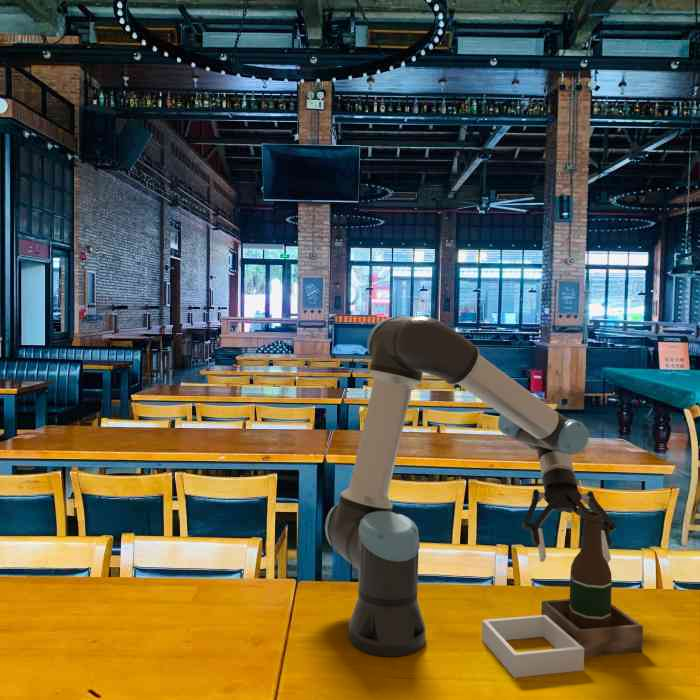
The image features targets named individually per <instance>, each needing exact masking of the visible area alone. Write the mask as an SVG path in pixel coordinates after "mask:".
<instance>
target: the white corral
mask: <svg viewBox="0 0 700 700" xmlns="http://www.w3.org/2000/svg"><path fill="white" fill-rule="evenodd" d="M481 622H482V623H481V641H482V642H483V643H484V645H485V646H486V647H487V648H488V649H489V651H491V653H492V654H493V655H494V656H495V657H496V659H497V660H499V662H500V663H501V664H502V666H503V667H504V668H505V669H506V670H507V671H508V673H509V674H510V675H511V676H512V678H514V679H515V678H524V677H533V676H534V677H535V676H543V675H552V674H561V673H571V672H572V673H573V672H583V671H584V669H585V667H584V666H585V658H584V648H583V647H582V646H581V645H580V644H579V643H577V642H576V641H575V640H574V639H573V638H572V637H570V636H569V635H568V634H567V633H566V632H565V631H564V630H562V629H561V628H560V627H559V626H558V625H557V624H555V623H554V622H553V621H552V620H551V619H550V618H549V617H547V616H546V615H541V614H536V615H527V616H525V615H524V616H516V617H501V618H490V619H482V620H481ZM540 637H541V638H542V637H543V638H544V639H545V640H547V642H549V644H550V645H552V647H553V648H551V649H540V650H528V651H519V652H517V651H516V650H515V649H514V648H513V647H512V645H510V643H508V642H507V641H509V640H510V641H511V640H523V639H530V638H532V639H533V638H540Z"/></svg>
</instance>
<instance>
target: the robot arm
mask: <svg viewBox="0 0 700 700" xmlns="http://www.w3.org/2000/svg"><path fill="white" fill-rule="evenodd" d="M366 343H367V344H366V348H367V353H368V354H369V357H370V359H371V361H370V365H369V369H368V372H369V374H370V376H371V377H372V380H373V382H372V387H371V392H370V395H369V400H368V405H367V409H366V414H365V418H364V422H363V426H362V430H361V435H360V439H359V443H358V449H357V452H356V457H355V461H354V466H353V470H352V474H351V478H350V482H349V486H348V487H347V488H346V489H344V490H343V491H341V492H340V495H339V499H338V502H337V503H336V505H334V506H332V507H331V509H330V510H329V511H328V513H327V516H326V519H325V524H324V531H325V536H326V539H327V542H328V544H329V545H330V546H331V548H332V549H333V550H334V552H335V553H336V554H337V555H339V557H341V558H344V559H345V560H346V561H347V562H348V563H349V564H350V565H352V566H354V567H355V568H356V569H357V571H358V584H357V585H358V592H357V593H358V595H357V599H356V602H355V606H354V608H353V611H352V614H351V617H350V620H349V623H348V640H349V642H350V644H352V646H353V647H355V648H356V649H358V650H360V651H362V652H365V653H367V654H371V655H374V656H379V657H400V656H406V655H410V654H413V653H416V652H417V651H419V650H420V649H421V648H423V646H425V643H426V633H427V632H426V630H427V629H426V626H425V622H424V618H423V615H422V611H421V609H420V604H419V601H418V584H419V583H418V582H419V580H418V579H419V552H420V551H419V550H420V537H419V528H418V527H417V524H416V523H415V522H414V521H413V520H412V519H411V518H409V517H408V516H406V515H403V514H401V513H395V512H393V506H394V505H393V503H392V502H391V500H390V498H389V492H390V488H391V483H392V478H393V474H394V470H395V466H396V461H397V456H398V451H399V448H400V444H401V443H400V442H401V439H402V434H403V429H404V425H405V421H406V417H407V412H408V407H409V403H410V398H411V396H412V395H411V394H412V390H413V389H414V388H415V387H417V386H418V385H420V384H421V381H422V377H423V373H424V374H427V375H432V376H434V377H436V378H439V379H441V380H442V381H444V382H446V383H447V384H449V385H451V386H456V385H458V386H459V387H462V388H463V389H464V390H466V391H467V392H468V393H470V394H472V395H473V396H474V397H475V398H477V399H479V400H480V401H482V402H483V403H485V404H486V405H488V406H489V407H490V408H492V409H493V410H494V411H496V412H498V413H499V418H498V419H497V428H498V430H499V431H500V433H502V434H503V435H505V436H506V437H507V438H509V439H513V440H515V441H517V442H519V443H520V444H523V445H525V446H527V447H528V448H531V449H532V450H534V451H536V453H537V457H538V462H539V467H540V473H541V477H542V484H543V489H544V492H541V491H539V490H538V489H533V491H532V495H531V502H530V503H531V504H530V506H529V509H528V510H527V513H526V515H525V518H524V521H523V523H522V527H521V528H522V530H524V531H529V533H530V535H531V539H532V540H531V541H532V544H533V546H537V550H538V554H539V561H540V562H543V563H544V562H545V560H546V557H547V553H546V546H545V540H544V534H543V528H541V526H542V525H543V524H544V522H545V521H546V519H547V518H548V517H549V516H550V515H551V514H552V512H553V511H556V512H557V513H563V512H565V513H572V512H573V513H575V515H577V516H579V517H580V518H581V519H583V520H584V518H583V514H584V513H586V512H596V513H599V514H601V516H602V519H603V521H601V536H602V552H603V556H604V558H605V560H606V561H607V563H608V564H610V563H609V562H610V561H611V559H612V557H611V553H610V550H609V549H610V548H611V546H612V541H611V537H610V534H613V533H614V531H615V530H616V528H617V524H616V523H615V522H614V521H613V519H612V518H611V517H610V516H609V515H608V513H607V512H606V511H605V509H604V508H603V507H602V506H601V505H600V503H599V502H598V500H596V497H595V494H594V492H593V491H591V490H589V491H588V492H587V493H581V492H580V491H579V487H578V483H577V482H578V481H577V479H576V475H575V469H574V465H573V461H572V457H571V455H578V454H580V453H582V452H583V451H584V450H585V449H586V447H587V445H588V443H589V431H588V428H587V427H586V425H585V424H584V423H582V422H580V421H578V420H575V419H572V418H570V419H569V418H567V417H565V416H564V415H562V414H561V413H560V412H558V411H556V409H554V408H552V407H551V406H550V405H548V404H547V403H546V402H544V401H543V400H541V399H540V398H539V397H537V396H536V395H535V394H533V393H532V392H531V391H529V390H528V389H527V388H525V387H524V386H522V385H521V384H520V383H518V382H517V381H516V380H514V379H513V378H511V376H509V375H508V374H506V373H504V372H503V371H502V370H501V369H499V368H498V367H497V366H495V365H494V364H492V362H490V361H489V360H487V359H486V358H485V357H484V356H482V355H480V349H479V348H478V346H477V345H475V344H474V343H473V342H471V340H468V339H467V338H466V337H464V336H463V335H462V334H460V333H459V332H457V331H456V330H455V329H453V328H452V327H450V326H449V325H447V324H445V323H443V322H442V321H440V320H438V319H436V318H434V317H430V316H425V315H423V316H422V315H421V316H420V315H419V316H399V315H398V316H393V317H392V316H391V317H389V318H385V319H382V320H381V321H379V322H378V323H377V324H375V326H374V327H373V328H372V329H371V331H370V333H369V335H368V338H367V342H366ZM542 500H544V501H545V502H546V503H547V505H546V507H545V508H544V509H543V510H542V511H541V513H540V514H539V515H538V517H536V519H535V520H534V522H532V521H531V520H532V518H533V515H534V513H535V511H536V507H537V505H538V503H539V502H541V501H542ZM581 500H582V501H581ZM583 501H584V503H583ZM586 504H587V506H588V508H589V509H588V508H587V507H586V506H585V505H586ZM590 510H591V511H590Z"/></svg>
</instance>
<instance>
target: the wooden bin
mask: <svg viewBox="0 0 700 700" xmlns="http://www.w3.org/2000/svg"><path fill="white" fill-rule="evenodd" d="M569 604H570V598H561V599H547V600H541V609H540V610H541V613H540V615H546V616H547V617H549V618H550V619H551V620H552V621H553V622H554V623H555V624H557V625H558V626H559V627H560V628H561V629H562V630H564V631H565V632H566V633H567V634H568V635H569V636H570V637H572V638H573V639H574V640H575V641H576V642H577V643H579V644H580V645H581V646H582V647H583V648H584V659H585V658H593V657H601V656H602V657H603V656H613V655H623V654H632V653H633V654H634V653H642V652H643V639H644V637H643V636H644V635H643V633H644V626H643V625H642V624H640V623H639V622H638V621H637V620H635V619H634V618H632V617H631V616H629V615H628V614H626V613H625V612H624V611H622V610H621V609H619V608H617V607H616V606H615V605H614V604H612V603H611V619H610V627H603V628H591V629H579V628H578V627H577V626H575V625H574V624H573V623H572V622H571V621H569Z"/></svg>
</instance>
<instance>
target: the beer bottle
mask: <svg viewBox="0 0 700 700" xmlns="http://www.w3.org/2000/svg"><path fill="white" fill-rule="evenodd" d="M583 518H584V519H583ZM583 518H582V519H583V527H582V528H583V529H582V536H581V537H582V538H581V546H580V550H579V551H578V553H577V555H576V556H574V558H573V561H572V563H571V565H570V575H569V577H570V578H569V599H570V604H569V621H571V622H572V623H573V624H574V625H575V626H577V627H578V628H579V629H591V628H603V627H610V619H611V604H612V585H613V584H612V583H613V580H612V571H611V568H610V565H609V563H607V561H606V560H605V558H604V556H603V552H602V536H601V521H603V519H602V516H601V514H599V513H596V512H592V511H590V512H586V513H584V514H583Z"/></svg>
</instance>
